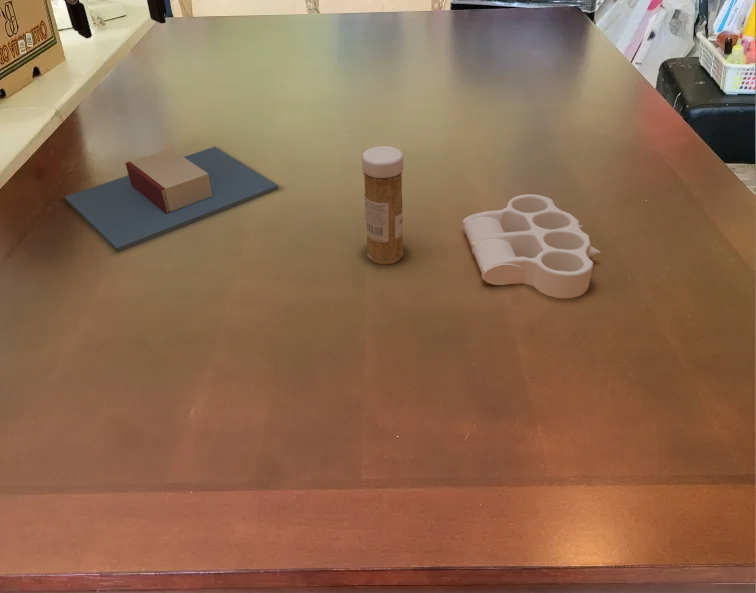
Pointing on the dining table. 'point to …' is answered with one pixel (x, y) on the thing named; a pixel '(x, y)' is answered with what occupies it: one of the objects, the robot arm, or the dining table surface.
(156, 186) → the book
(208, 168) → the mat
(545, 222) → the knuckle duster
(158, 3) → the robot arm
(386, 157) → the sprinkles bottle
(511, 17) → the dining table surface
